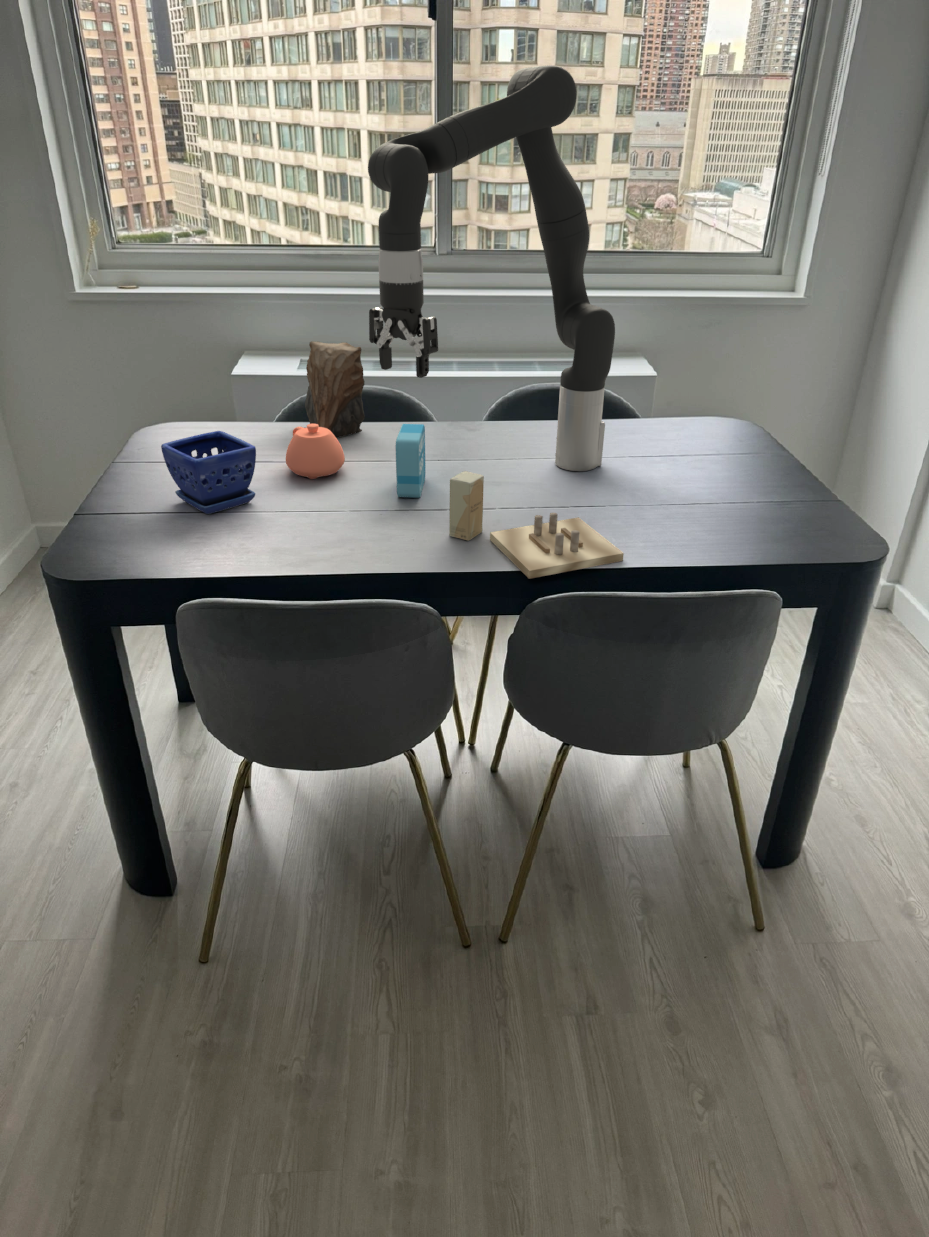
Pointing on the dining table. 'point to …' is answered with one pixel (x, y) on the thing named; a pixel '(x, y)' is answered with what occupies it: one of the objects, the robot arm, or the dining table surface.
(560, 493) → the dining table surface
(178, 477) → the flower pot
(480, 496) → the box
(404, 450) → the data package
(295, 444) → the sugar bowl
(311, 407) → the owl
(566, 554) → the tray
